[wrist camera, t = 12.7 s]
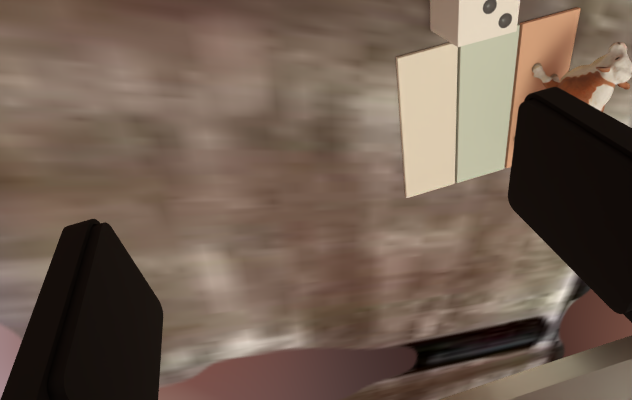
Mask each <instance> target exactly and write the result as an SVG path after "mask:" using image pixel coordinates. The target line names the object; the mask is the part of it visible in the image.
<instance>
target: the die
mask: <svg viewBox="0 0 632 400" xmlns="http://www.w3.org/2000/svg"><path fill="white" fill-rule="evenodd" d="M519 4H520V0H430V30H431V31H432V32H434V33H435V34H437V35H439V36H440V37H442V38H444V39H445V40H447V41H448V42H450V43H452V44H453V45H455V46H457V47H461V46H464V45H468V44H472V43H475V42H479V41H483V40H486V39H490V38H494V37H498V36H501V35H505V34H509V33H512V32H516V31H517V23H518V13H519Z"/></svg>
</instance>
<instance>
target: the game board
mask: <svg viewBox="0 0 632 400" xmlns="http://www.w3.org/2000/svg"><path fill="white" fill-rule="evenodd" d="M580 9H581V8H578V7H577V8H574V9H570V10H566V11H563V12H559V13H555V14H552V15H548V16H544V17H541V18H537V19H533V20H530V21H526V22H522V23H520V25H519V24H517V31H516V32H512V33H509V34H505V35H501V36H498V37H494V38H490V39H486V40H483V41H479V42H475V43H472V44H468V45H464V46H461V47H459V48H458V47H457V46H455V45H453V44H452V43H450V42H449V43H446V44H442V45H438V46H435V47H431V48H427V49H424V50H420V51H416V52H413V53H409V54H406V55H402V56H398V57H396V68H397V83H398V97H399V112H400V127H401V141H402V156H403V171H404V185H405V196H406V198H409V197H412V196H415V195H419V194H422V193H425V192H429V191H432V190H435V189H439V188H442V187H445V186H449V185H452V184H455V181H456V182H457V183H459V182H462V181H465V180H469V179H472V178H476V177H479V176H482V175H486V174H489V173H492V172H496V171H499V170H502V169H504V166H505V167H506V168H509V167H511V165H512V157H513V149H514V137H515V132H516V124H517V116H518V109H519V106H520V104H521V103H522V102H524V100H525V98H526V96H527V95H528V94H530V93H533V92H537V91H540V90H544V89H546V87H545V86H544V85H543V82H542V80H541V79H539V78H537V77H534V73H533V72H532V67H533V66H534V65H535V64H536V63H540V64H541V65H542V68H543V71H544V72H545V74H546V75H547V76H549V77H551V76H552V75H553V74H557V75H558V78H559V80H560V81H561V78H562V77H563V76H564V75H565V74H566V73H567V72H568V71H569V67H570V62H571V56H572V51H573V46H574V41H575V35H576V30H577V25H578V19H579V14H580ZM519 28H520V30H519ZM518 37H519V39H518ZM517 47H518V48H517ZM457 53H458V90H457ZM516 56H517V57H516ZM515 65H516V67H515ZM514 74H515V76H514ZM513 83H514V85H513ZM512 92H513V94H512ZM456 97H457V133H456ZM511 102H512V103H511ZM510 111H511V112H510ZM509 120H510V122H509ZM508 129H509V131H508ZM507 138H508V140H507ZM455 142H456V175H455ZM506 147H507V149H506ZM505 157H506V158H505Z"/></svg>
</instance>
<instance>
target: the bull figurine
mask: <svg viewBox="0 0 632 400" xmlns="http://www.w3.org/2000/svg"><path fill="white" fill-rule="evenodd" d="M532 72H533V73H534V77H537V78H539V79H541V80H542V82H543V85H544V86H545V87H546V89H547V88H551V87H558V88H560V89H562V90H564V91H566V92H568V93H569V94H571V95H573V96H575V97H576V98H578V99H580V100H582V101H584V102H585V103H587V104H589V105H591V106H593V107H594V108H596V109H598V110H600V111H602V112H603V110H604V106H605V104H606V103H607V102H608V100H609V99H610V97H611V95H612V92H613V90H614V87H615V85H616V84H617V85H618V86H619V87H622V88H624V89H629V88H630V85H629V84H628V83H627V82H626V81H628V80H629V79H630V78H631V72H632V63H631V61H630V59H629V58H628V55H627V46H626V45H625V44H624V43H619V42H617V43H614V44H613V45H611V46H610V48H609V52H608V54H606V55H604V56H602V57H600V58H598V59H597V60H595V61H594V62H593V63H592V64H590V65H582V66H579V67H576V68H574V69H573V70H571V71H568V72H567V73H566V74H565V75H564V76H563V77H562V78H561V81H560V80H559V78H558V75H557V74H553V75H552V76H551V77H549V76H547V75H546V74H545V72H544V71H543V68H542V65H541V64H540V63H536V64H535V65H534V66H533V67H532ZM514 140H515V137H514Z"/></svg>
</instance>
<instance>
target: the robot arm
mask: <svg viewBox="0 0 632 400" xmlns="http://www.w3.org/2000/svg"><path fill="white" fill-rule="evenodd" d="M508 200H509V203H510V205H511V207H512V209H513V210H514V211H515V212H516V213H517V214H518V215H519V216H520V217H521V218H522V219H523V220H524V221H525V222H526V223H527V224H528V225H529V226H530V227H531V228H532V229H533V230H534V231H535V232H536V233H537V234H538V235H539V236H540V237H541V238H542V239H543V240H544V241H545V242H546V243H547V244H548V245H549V246H550V247H551V248H552V249H553V251H554V252H555V253H556V254H557V255H558V256H559V257H560V258H561V259H562V260H563V261H564V262H565V263H566V264H567V265H568V266H569V267H570V268H571V269H572V270H573V271H574V272H575V273H576V274H577V275H578V276H579V277H580V278H581V279H582V280H583V281H584V282H585V283H586V284H587V285H588V286H589V287H590V288H591V289H592V290H593V291H594V292H595V293H596V294H597V295H598V296H599V297H600V298H601V299H602V300H603V301H604V302H605V303H606V304H607V305H608V306H609V307H610V308H611V309H612V310H613V311H614V312H616V313H619V314H624V315H625V316H626V317H627V318H628V319H629V320H630V321H631V322H632V128H630V127H628V126H627V125H625V124H623V123H621V122H620V121H618V120H616V119H614V118H612V117H611V116H609V115H607V114H605V113H603V112H602V111H600V110H598V109H596V108H594V107H593V106H591V105H589V104H587V103H585V102H584V101H582V100H580V99H578V98H576V97H575V96H573V95H571V94H569V93H568V92H566V91H564V90H562V89H560V88H558V87H551V88H547V89H544V90H540V91H537V92H533V93H530V94H528V95H527V96H526V98H525V100H524V102H522V103H521V104H520V106H519V109H518V116H517V124H516V132H515V140H514V149H513V157H512V165H511V173H510V182H509V190H508ZM162 327H163V310H162V307H161V304H160V302H159V300H158V298H157V297H156V295H155V294H154V292H153V291H152V289H151V288H150V286H149V284H148V283H147V281H146V280H145V278H144V277H143V275H142V274H141V272H140V271H139V269H138V267H137V266H136V264H135V263H134V261H133V260H132V258H131V257H130V255H129V254H128V252H127V250H126V249H125V247H124V246H123V244H122V243H121V241H120V240H119V238H118V237H117V235H116V234H115V232H114V230H113V229H112V227H111V226H110V225H109V224H108V223H101V224H100V222H99V221H97V220H96V219H90V220H87V221H83V222H80V223H76V224H73V225H69V226H67V227H65V228H64V229H63V231H62V234H61V236H60V239H59V242H58V244H57V247H56V250H55V253H54V255H53V258H52V261H51V264H50V266H49V269H48V272H47V274H46V277H45V280H44V283H43V285H42V288H41V291H40V294H39V296H38V299H37V302H36V305H35V307H34V310H33V313H32V315H31V318H30V321H29V324H28V326H27V329H26V332H25V335H24V337H23V340H22V343H21V345H20V348H19V351H18V354H17V356H16V359H15V362H14V365H13V367H12V370H11V373H10V376H9V378H8V381H7V384H6V386H5V389H4V392H3V395H2V397H1V400H158V391H159V376H160V360H161V343H162ZM440 400H632V336H629V337H626V338H623V339H620V340H617V341H614V342H611V343H608V344H605V345H602V346H599V347H596V348H592V349H590V350H586V351H583V352H580V353H577V354H574V355H571V356H569V357H565V358H562V359H559V360H556V361H553V362H550V363H547V364H544V365H541V366H538V367H535V368H532V369H529V370H526V371H523V372H520V373H517V374H514V375H511V376H508V377H505V378H502V379H499V380H496V381H493V382H490V383H487V384H484V385H481V386H478V387H475V388H472V389H469V390H466V391H463V392H460V393H457V394H454V395H451V396H449V397H446V398H443V399H440Z"/></svg>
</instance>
